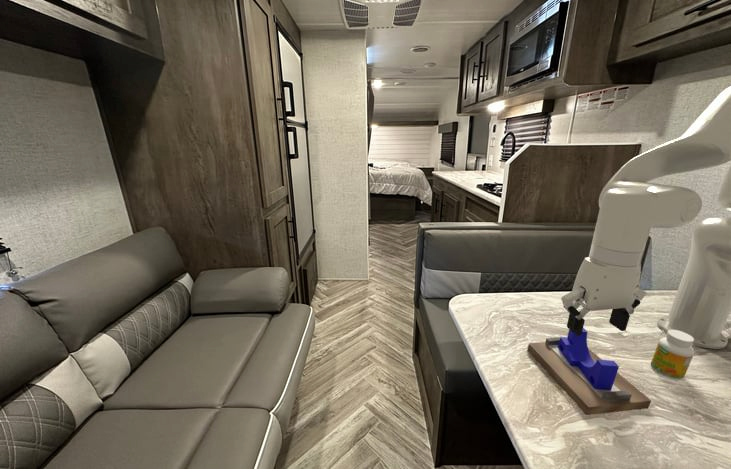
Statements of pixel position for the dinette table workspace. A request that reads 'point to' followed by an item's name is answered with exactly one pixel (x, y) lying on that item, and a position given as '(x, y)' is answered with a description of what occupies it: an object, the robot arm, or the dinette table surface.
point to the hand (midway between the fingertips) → (595, 329)
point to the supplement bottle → (673, 355)
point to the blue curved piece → (588, 361)
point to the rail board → (586, 382)
